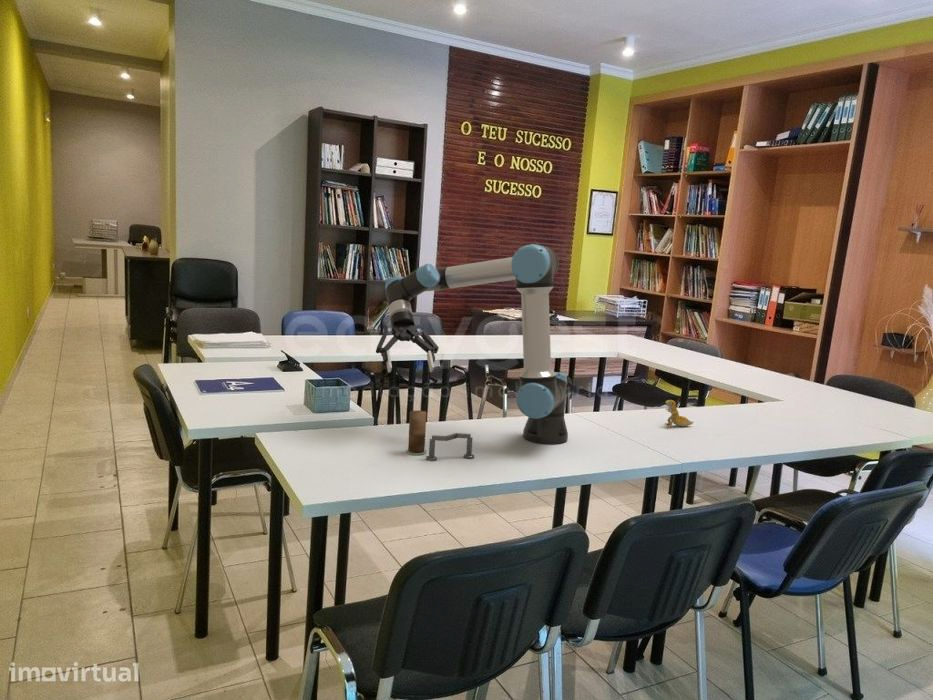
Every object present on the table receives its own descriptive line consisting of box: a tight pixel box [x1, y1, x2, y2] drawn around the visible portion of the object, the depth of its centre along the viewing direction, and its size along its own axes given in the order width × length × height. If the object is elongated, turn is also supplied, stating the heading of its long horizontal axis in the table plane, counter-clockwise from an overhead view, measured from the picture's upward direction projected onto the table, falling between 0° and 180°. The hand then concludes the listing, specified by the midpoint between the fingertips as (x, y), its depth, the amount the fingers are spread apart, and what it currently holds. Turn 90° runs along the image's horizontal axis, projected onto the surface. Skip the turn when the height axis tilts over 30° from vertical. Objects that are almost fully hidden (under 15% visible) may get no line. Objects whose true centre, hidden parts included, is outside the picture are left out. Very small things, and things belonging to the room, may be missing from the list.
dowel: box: [407, 410, 427, 453], centre depth 203 cm, size 5×5×12 cm
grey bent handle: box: [425, 432, 475, 462], centre depth 199 cm, size 15×4×7 cm, turn 113°
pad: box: [406, 448, 427, 456], centre depth 204 cm, size 6×6×1 cm
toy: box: [664, 399, 695, 429], centre depth 254 cm, size 7×15×10 cm, turn 109°
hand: (411, 370), depth 209 cm, fingers open, 13 cm apart
